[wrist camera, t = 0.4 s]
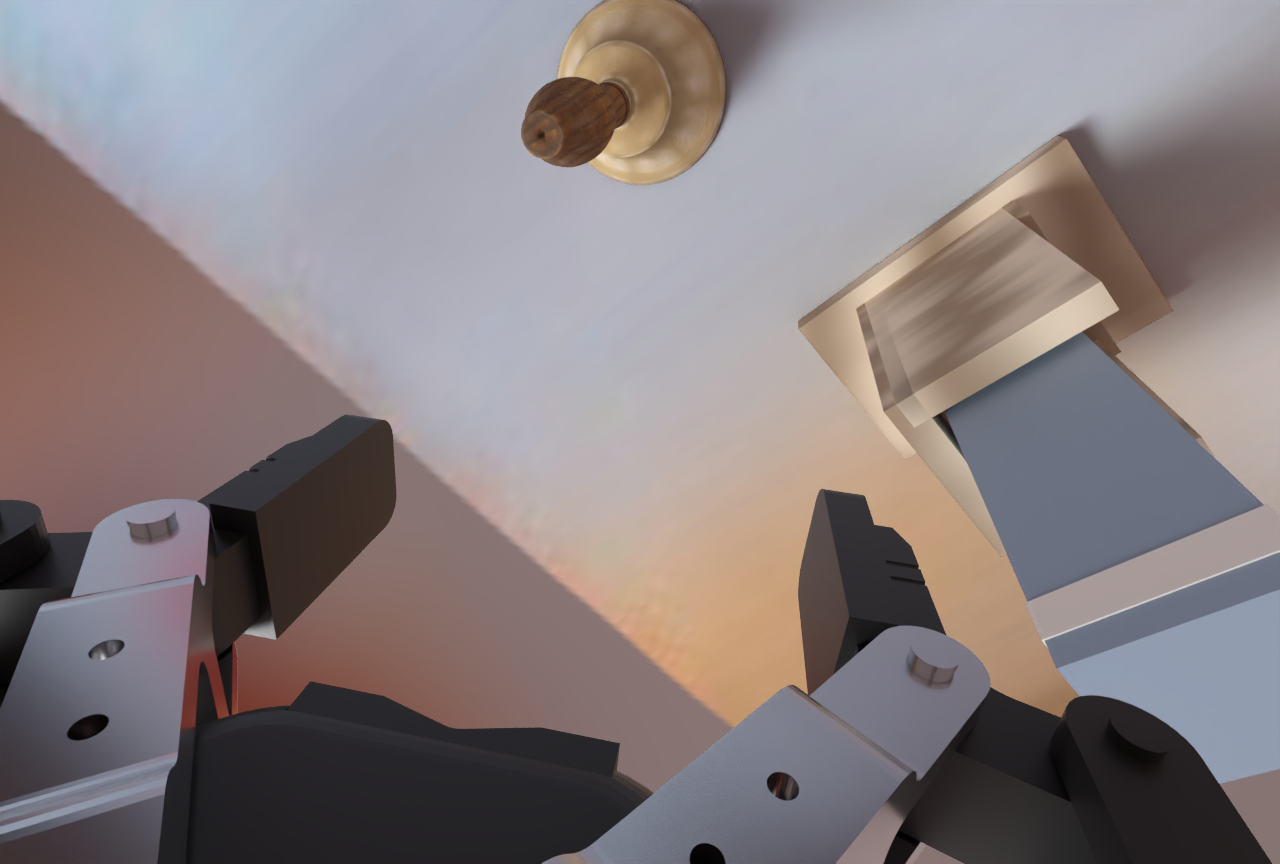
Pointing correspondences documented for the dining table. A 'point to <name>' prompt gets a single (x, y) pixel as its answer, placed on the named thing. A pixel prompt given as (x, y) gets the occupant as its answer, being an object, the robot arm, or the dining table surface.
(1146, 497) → the block
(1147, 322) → the tan frame
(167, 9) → the dining table surface
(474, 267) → the dining table surface
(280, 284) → the dining table surface
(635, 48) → the hand bell
